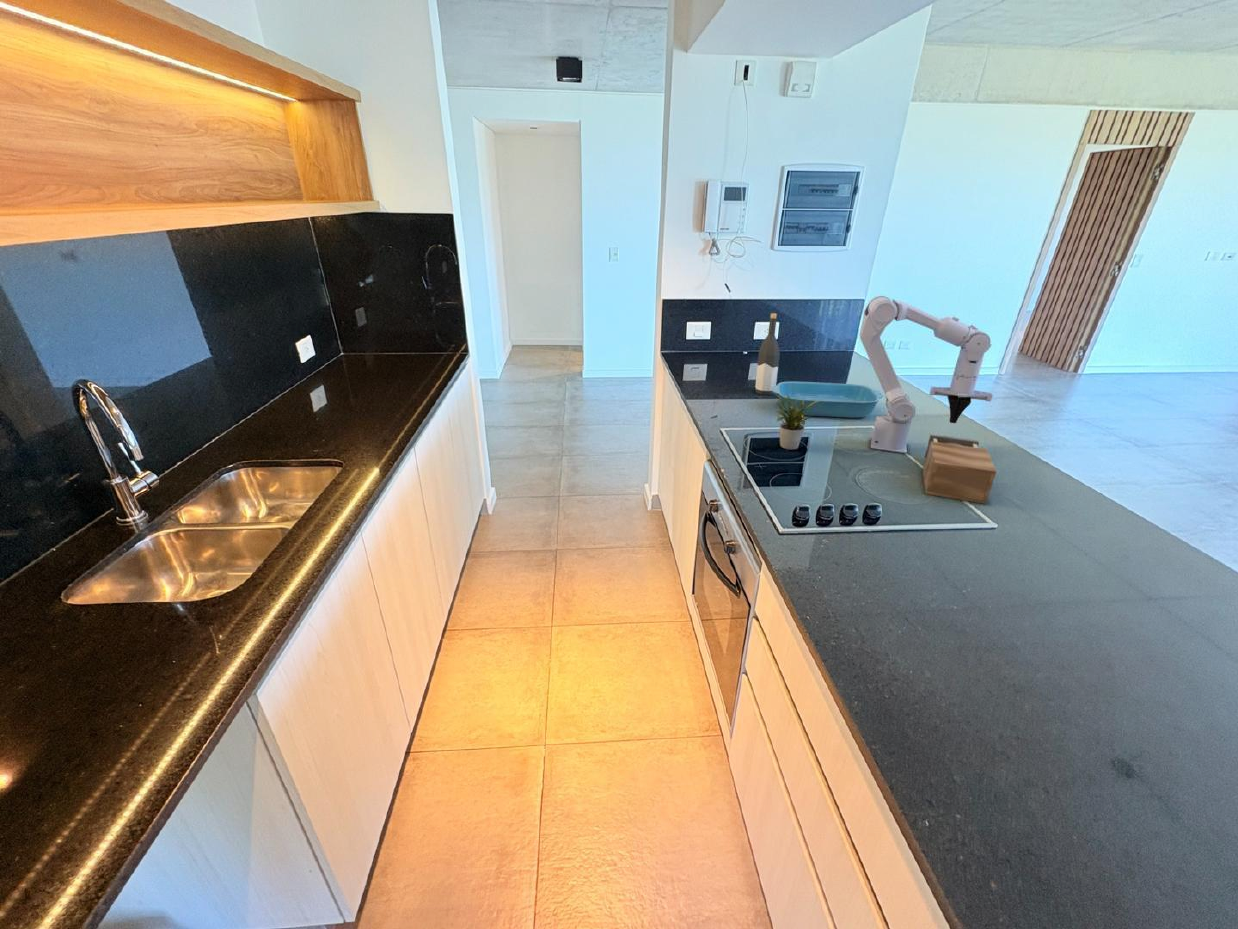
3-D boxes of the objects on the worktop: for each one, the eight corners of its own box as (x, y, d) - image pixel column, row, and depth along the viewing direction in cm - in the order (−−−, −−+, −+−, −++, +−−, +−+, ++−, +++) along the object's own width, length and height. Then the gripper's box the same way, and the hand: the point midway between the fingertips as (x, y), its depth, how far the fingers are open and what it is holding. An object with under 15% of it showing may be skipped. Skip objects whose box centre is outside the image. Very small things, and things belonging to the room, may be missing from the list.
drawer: (923, 450, 152) (929, 428, 149) (969, 457, 148) (976, 434, 145) (927, 475, 137) (933, 451, 134) (978, 483, 133) (986, 459, 130)
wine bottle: (778, 390, 209) (787, 313, 197) (771, 396, 203) (781, 316, 190) (758, 387, 213) (766, 311, 201) (751, 392, 207) (759, 314, 194)
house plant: (751, 445, 158) (757, 393, 151) (773, 433, 167) (780, 383, 160) (796, 459, 149) (804, 403, 142) (817, 445, 158) (826, 392, 152)
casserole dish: (771, 416, 182) (773, 396, 179) (768, 397, 202) (770, 378, 199) (885, 423, 175) (890, 402, 172) (870, 403, 195) (874, 384, 192)
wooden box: (922, 470, 142) (930, 441, 138) (977, 479, 137) (987, 449, 133) (925, 493, 130) (934, 462, 126) (985, 504, 125) (996, 471, 121)
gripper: (936, 375, 143) (924, 422, 149) (999, 381, 138) (984, 430, 143) (934, 369, 149) (923, 415, 155) (995, 375, 143) (981, 422, 149)
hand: (952, 422), depth 149 cm, fingers closed
